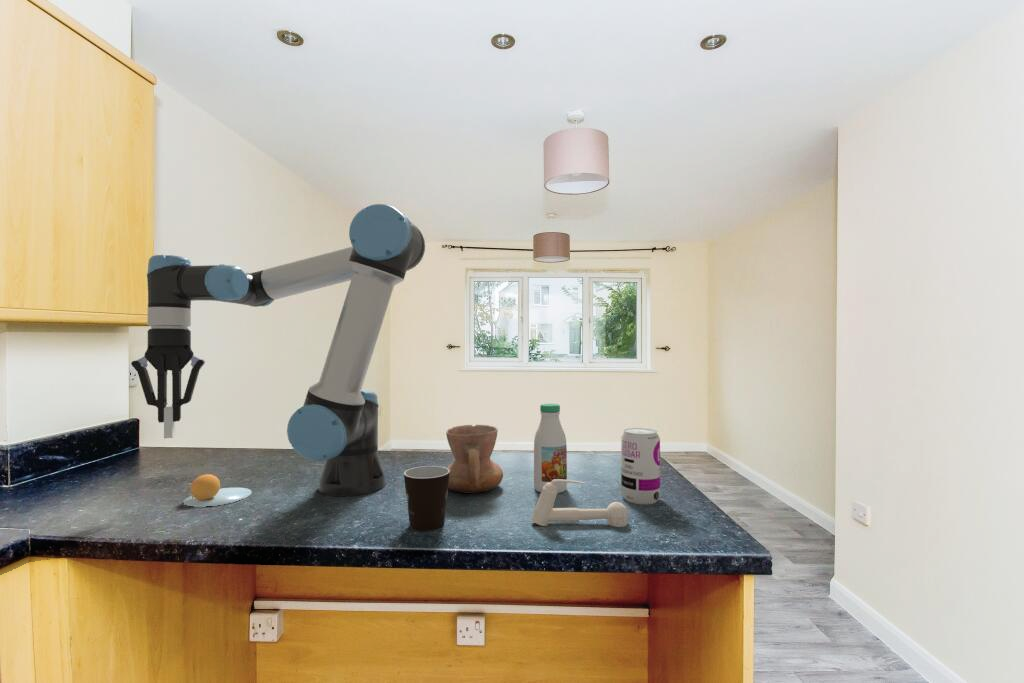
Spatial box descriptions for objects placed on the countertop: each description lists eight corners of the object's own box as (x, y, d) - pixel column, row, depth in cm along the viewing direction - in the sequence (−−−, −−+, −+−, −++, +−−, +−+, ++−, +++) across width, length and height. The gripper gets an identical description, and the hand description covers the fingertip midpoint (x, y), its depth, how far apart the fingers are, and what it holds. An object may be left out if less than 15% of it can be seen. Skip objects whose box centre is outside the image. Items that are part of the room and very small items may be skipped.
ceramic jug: (444, 478, 118) (443, 423, 118) (501, 476, 119) (500, 421, 119) (438, 504, 100) (437, 438, 100) (505, 501, 101) (504, 436, 101)
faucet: (621, 553, 86) (638, 502, 86) (531, 523, 86) (548, 472, 86) (616, 543, 90) (632, 495, 90) (530, 515, 90) (546, 467, 90)
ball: (189, 487, 104) (213, 497, 106) (181, 498, 99) (207, 508, 101) (203, 466, 104) (227, 476, 106) (196, 476, 99) (222, 486, 101)
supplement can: (662, 496, 104) (661, 429, 104) (657, 507, 96) (656, 435, 96) (625, 491, 107) (625, 426, 107) (618, 502, 100) (617, 432, 100)
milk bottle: (529, 492, 107) (529, 405, 107) (540, 483, 114) (539, 401, 114) (561, 496, 104) (561, 407, 104) (570, 486, 111) (570, 403, 111)
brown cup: (440, 535, 83) (440, 479, 83) (395, 531, 84) (395, 477, 84) (460, 512, 94) (460, 463, 94) (420, 509, 96) (420, 461, 96)
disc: (252, 485, 113) (252, 484, 113) (250, 501, 101) (250, 500, 101) (188, 493, 107) (188, 492, 107) (177, 511, 95) (177, 510, 95)
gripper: (207, 328, 106) (207, 431, 106) (136, 328, 100) (136, 436, 100) (203, 327, 100) (203, 437, 100) (126, 327, 94) (126, 443, 94)
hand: (169, 436), depth 100 cm, fingers closed
